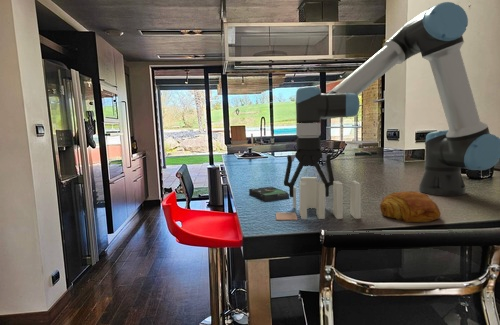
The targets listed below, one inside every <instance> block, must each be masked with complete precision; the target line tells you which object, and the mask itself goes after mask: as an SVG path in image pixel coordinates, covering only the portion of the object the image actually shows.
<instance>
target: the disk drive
mask: <svg viewBox="0 0 500 325" xmlns="http://www.w3.org/2000/svg"><path fill="white" fill-rule="evenodd" d="M248 189H249V190H248V193H249V195H250V196H253V197H254V198H257V199H259V200H261V201H263V202H269V201H270V202H271V201H278V200H284V199H285V200H286V199H290V195H289V191H285V190H282V189H280V188H276V187H273V186H266V187H264V186H263V187H258V188H248Z"/></svg>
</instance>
